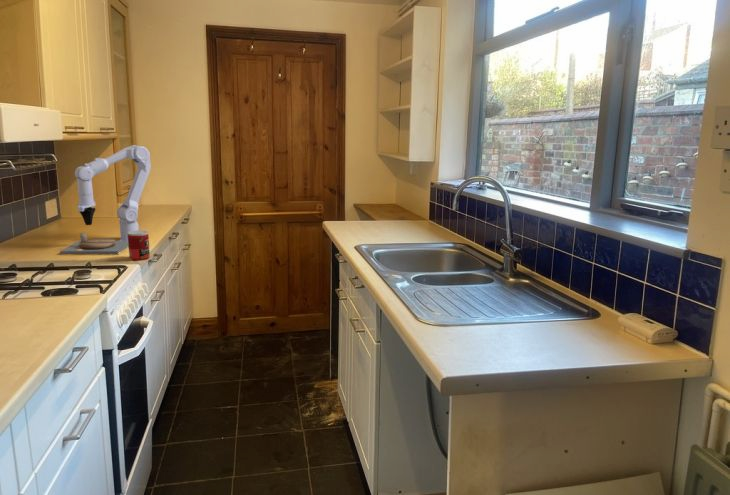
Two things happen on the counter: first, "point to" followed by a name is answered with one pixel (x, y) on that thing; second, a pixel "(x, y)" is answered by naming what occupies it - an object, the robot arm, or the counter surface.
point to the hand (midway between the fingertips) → (88, 224)
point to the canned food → (138, 245)
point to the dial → (95, 242)
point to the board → (110, 250)
